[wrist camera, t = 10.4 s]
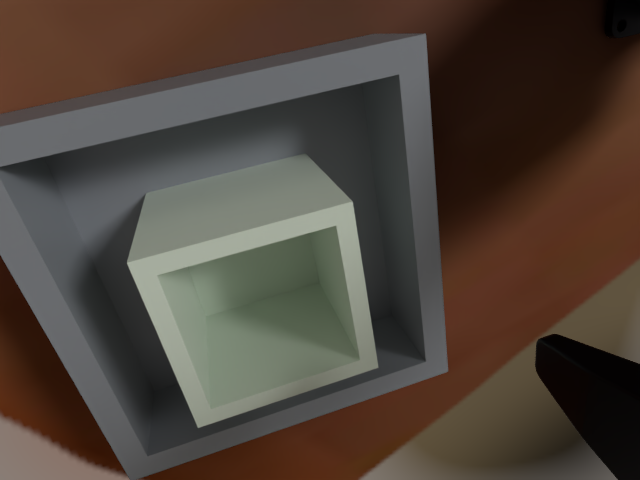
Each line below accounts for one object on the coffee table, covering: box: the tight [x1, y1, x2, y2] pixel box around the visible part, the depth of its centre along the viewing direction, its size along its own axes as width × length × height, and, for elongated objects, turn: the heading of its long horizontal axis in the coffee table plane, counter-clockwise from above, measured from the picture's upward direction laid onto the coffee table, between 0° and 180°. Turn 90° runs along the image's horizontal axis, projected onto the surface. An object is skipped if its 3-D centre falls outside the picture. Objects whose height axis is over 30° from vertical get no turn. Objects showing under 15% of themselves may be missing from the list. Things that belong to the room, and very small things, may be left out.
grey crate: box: [0, 34, 448, 480], centre depth 18 cm, size 14×14×4 cm
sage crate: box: [127, 153, 378, 428], centre depth 17 cm, size 6×6×6 cm
